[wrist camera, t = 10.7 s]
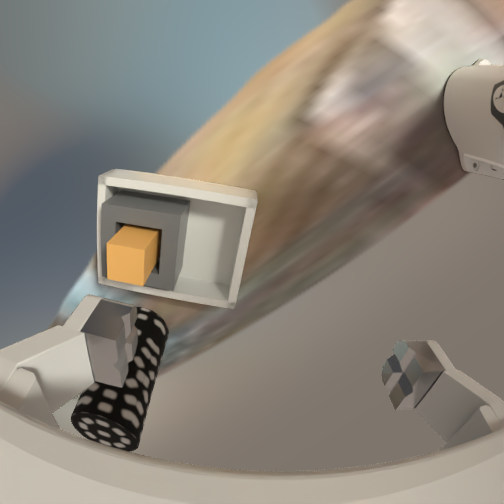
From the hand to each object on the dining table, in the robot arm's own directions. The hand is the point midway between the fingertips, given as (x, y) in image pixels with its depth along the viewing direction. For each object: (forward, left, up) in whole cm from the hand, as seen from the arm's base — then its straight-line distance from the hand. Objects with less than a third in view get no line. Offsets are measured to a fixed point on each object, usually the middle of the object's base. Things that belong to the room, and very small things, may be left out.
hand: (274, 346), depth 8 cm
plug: (+11, +9, -25) cm, 29 cm away
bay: (+8, +9, -29) cm, 31 cm away
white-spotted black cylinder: (+12, +26, -29) cm, 41 cm away
